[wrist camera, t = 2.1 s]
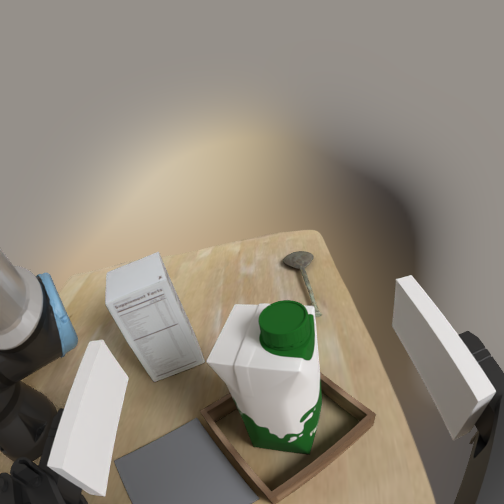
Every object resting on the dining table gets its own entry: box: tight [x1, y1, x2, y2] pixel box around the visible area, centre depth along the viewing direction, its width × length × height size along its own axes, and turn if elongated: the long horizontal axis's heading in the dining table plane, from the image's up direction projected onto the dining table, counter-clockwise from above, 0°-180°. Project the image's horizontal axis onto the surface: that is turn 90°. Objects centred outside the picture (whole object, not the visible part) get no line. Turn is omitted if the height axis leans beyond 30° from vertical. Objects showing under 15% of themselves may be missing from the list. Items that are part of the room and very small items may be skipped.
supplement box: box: [105, 252, 205, 382], centre depth 46 cm, size 10×9×17 cm
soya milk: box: [206, 300, 322, 454], centre depth 30 cm, size 9×9×20 cm
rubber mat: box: [114, 418, 259, 504], centre depth 30 cm, size 15×14×1 cm
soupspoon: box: [283, 251, 322, 317], centre depth 61 cm, size 22×3×7 cm
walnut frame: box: [200, 372, 376, 504], centre depth 34 cm, size 15×15×3 cm
